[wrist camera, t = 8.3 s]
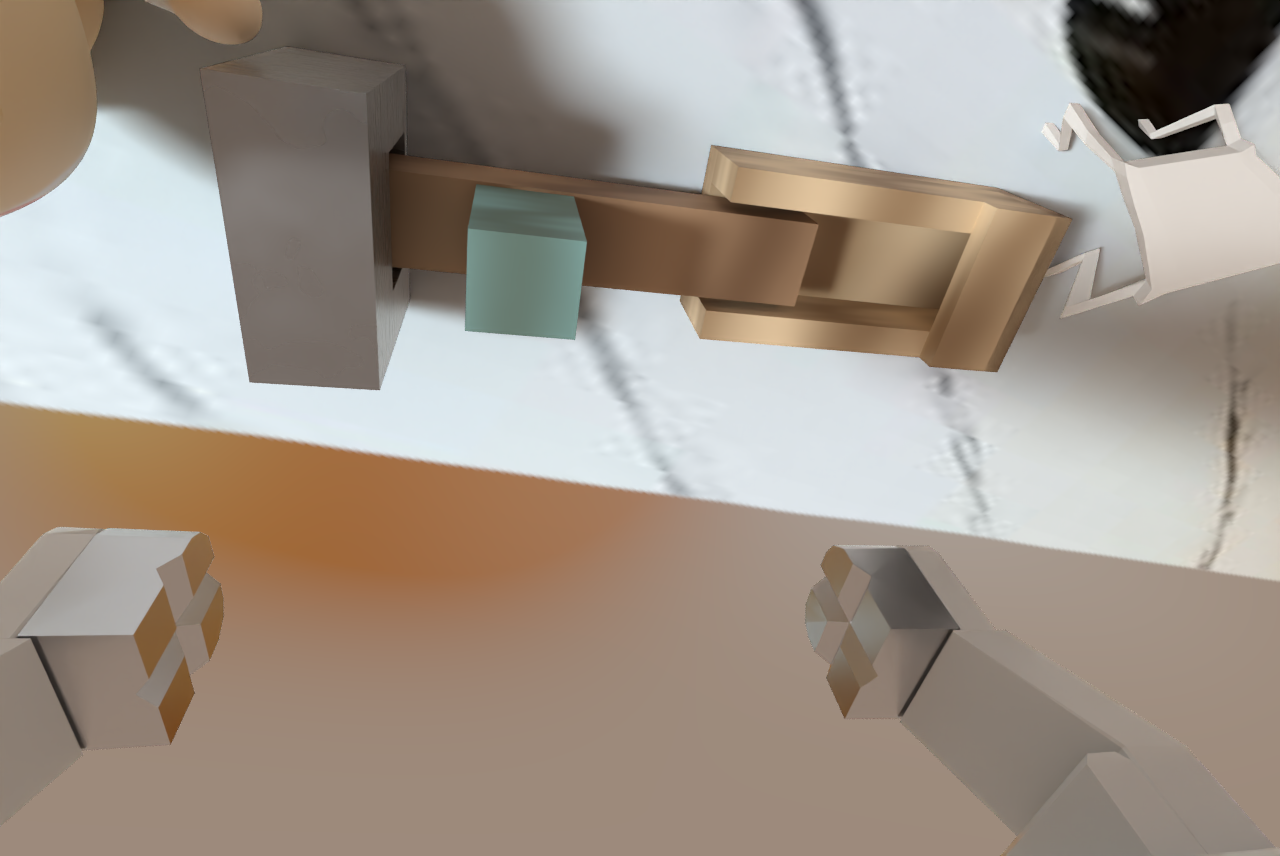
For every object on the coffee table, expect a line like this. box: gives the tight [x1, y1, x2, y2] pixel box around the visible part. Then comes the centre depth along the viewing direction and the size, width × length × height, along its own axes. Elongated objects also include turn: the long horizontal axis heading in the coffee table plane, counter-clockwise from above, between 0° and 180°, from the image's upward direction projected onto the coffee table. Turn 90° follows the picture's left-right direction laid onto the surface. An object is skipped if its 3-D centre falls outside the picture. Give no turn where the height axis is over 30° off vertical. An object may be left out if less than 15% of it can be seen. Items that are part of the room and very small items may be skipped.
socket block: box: [200, 46, 410, 390], centre depth 20 cm, size 4×8×7 cm, turn 171°
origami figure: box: [1042, 103, 1280, 319], centre depth 26 cm, size 12×8×5 cm
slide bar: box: [389, 153, 819, 340], centre depth 21 cm, size 16×3×7 cm, turn 81°
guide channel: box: [680, 145, 1072, 372], centre depth 25 cm, size 12×6×4 cm, turn 81°
